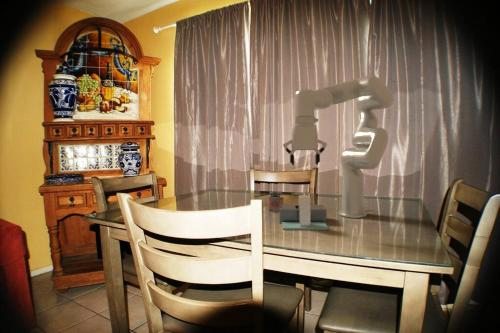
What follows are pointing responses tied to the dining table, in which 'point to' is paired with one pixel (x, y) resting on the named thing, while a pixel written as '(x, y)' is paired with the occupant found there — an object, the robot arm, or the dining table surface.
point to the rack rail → (292, 213)
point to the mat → (297, 227)
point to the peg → (304, 210)
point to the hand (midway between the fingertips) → (304, 164)
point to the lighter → (275, 201)
